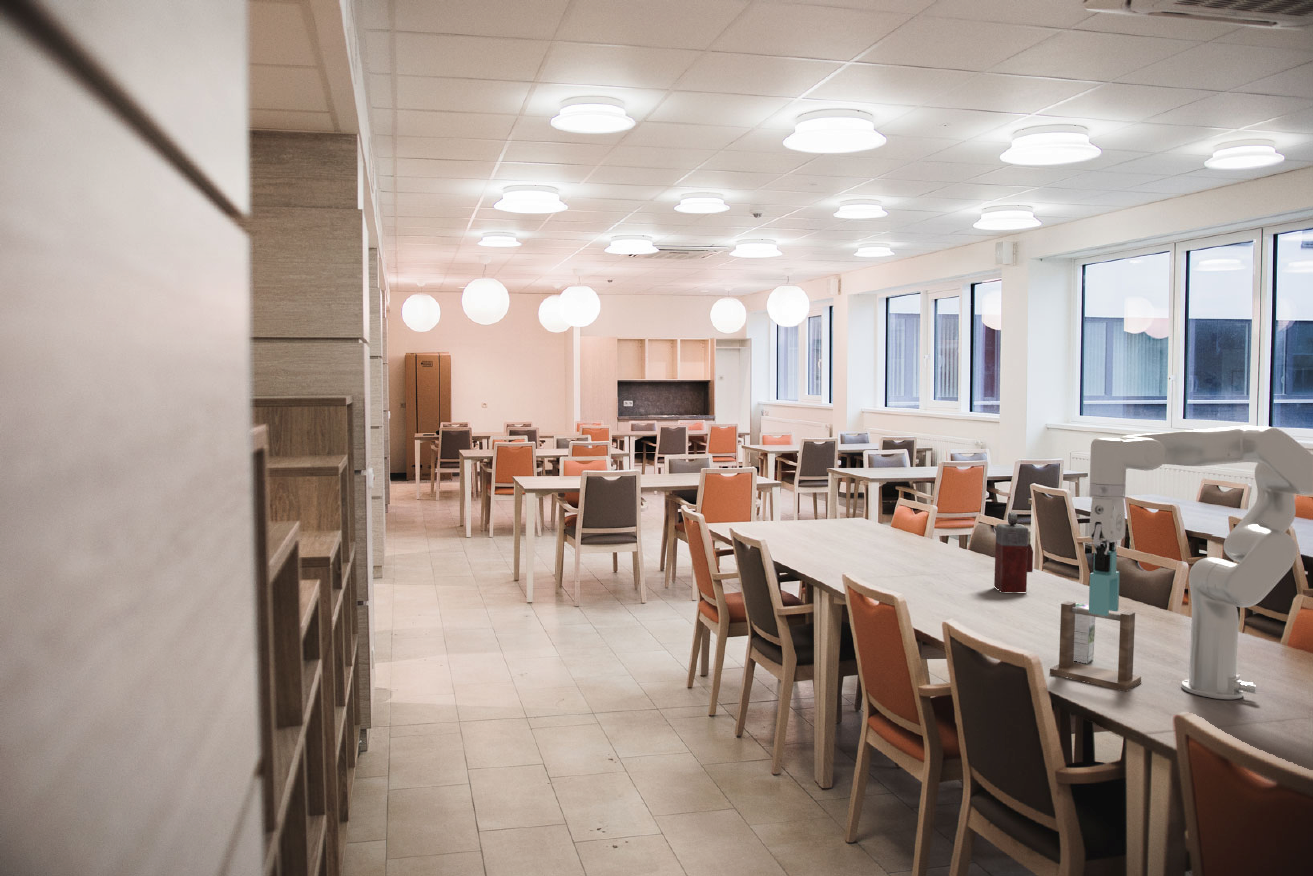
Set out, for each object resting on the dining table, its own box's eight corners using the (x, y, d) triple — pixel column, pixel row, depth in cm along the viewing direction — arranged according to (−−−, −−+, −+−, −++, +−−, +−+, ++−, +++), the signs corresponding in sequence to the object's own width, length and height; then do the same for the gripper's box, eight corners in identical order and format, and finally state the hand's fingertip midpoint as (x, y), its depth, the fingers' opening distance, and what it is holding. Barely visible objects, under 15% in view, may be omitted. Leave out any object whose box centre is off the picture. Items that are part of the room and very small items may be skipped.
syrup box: (1070, 655, 252) (1072, 602, 251) (1094, 660, 248) (1096, 605, 247) (1064, 660, 247) (1066, 605, 246) (1088, 664, 243) (1090, 609, 243)
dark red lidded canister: (1033, 594, 331) (1036, 514, 329) (1000, 592, 332) (1003, 513, 331) (1025, 588, 340) (1028, 511, 338) (993, 587, 341) (996, 510, 339)
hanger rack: (1140, 682, 228) (1143, 611, 228) (1126, 691, 221) (1129, 617, 221) (1065, 666, 241) (1068, 599, 240) (1049, 674, 234) (1052, 604, 233)
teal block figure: (1118, 610, 220) (1120, 550, 220) (1106, 615, 215) (1108, 554, 214) (1100, 608, 223) (1102, 548, 222) (1088, 613, 218) (1090, 552, 217)
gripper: (1111, 495, 209) (1109, 577, 210) (1136, 490, 221) (1134, 568, 222) (1076, 492, 215) (1074, 572, 215) (1103, 487, 226) (1101, 563, 227)
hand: (1104, 569), depth 219 cm, fingers closed on teal block figure, 3 cm apart
